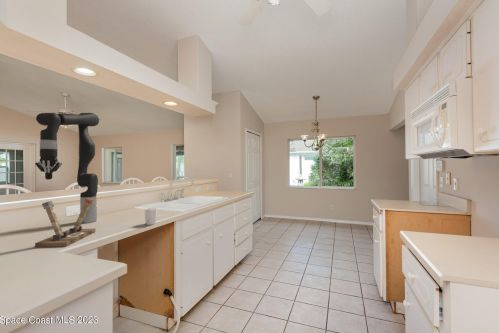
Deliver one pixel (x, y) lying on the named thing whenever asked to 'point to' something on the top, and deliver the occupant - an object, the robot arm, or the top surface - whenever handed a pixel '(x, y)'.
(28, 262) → the top surface
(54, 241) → the switch board
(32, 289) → the top surface
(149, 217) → the white cup
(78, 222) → the terracotta lever
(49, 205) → the slate lever
